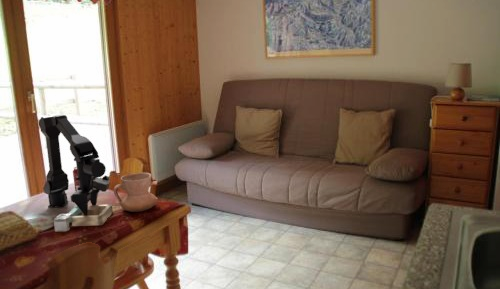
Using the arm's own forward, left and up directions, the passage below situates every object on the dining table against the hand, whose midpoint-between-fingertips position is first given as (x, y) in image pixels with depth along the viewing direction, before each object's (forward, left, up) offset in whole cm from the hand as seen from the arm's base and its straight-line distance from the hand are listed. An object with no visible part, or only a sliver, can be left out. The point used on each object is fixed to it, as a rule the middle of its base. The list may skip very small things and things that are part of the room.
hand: (90, 210), depth 167 cm
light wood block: (0, 0, -4) cm, 4 cm away
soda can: (-17, +36, -4) cm, 40 cm away
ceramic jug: (+16, +10, -4) cm, 19 cm away
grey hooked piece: (-7, -1, -3) cm, 8 cm away
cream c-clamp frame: (0, 0, -4) cm, 4 cm away
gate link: (-8, 0, -3) cm, 8 cm away
